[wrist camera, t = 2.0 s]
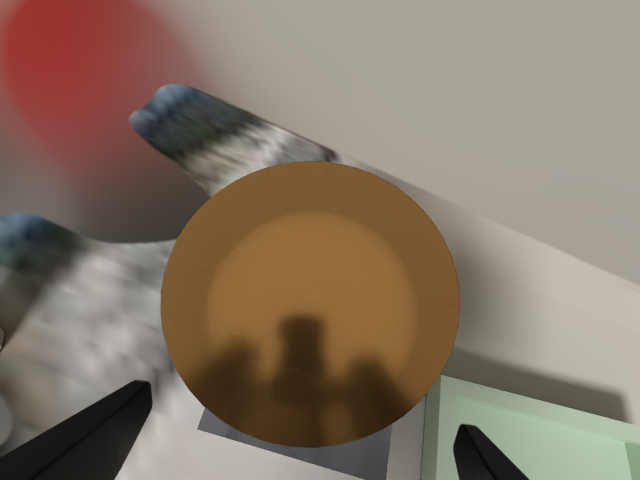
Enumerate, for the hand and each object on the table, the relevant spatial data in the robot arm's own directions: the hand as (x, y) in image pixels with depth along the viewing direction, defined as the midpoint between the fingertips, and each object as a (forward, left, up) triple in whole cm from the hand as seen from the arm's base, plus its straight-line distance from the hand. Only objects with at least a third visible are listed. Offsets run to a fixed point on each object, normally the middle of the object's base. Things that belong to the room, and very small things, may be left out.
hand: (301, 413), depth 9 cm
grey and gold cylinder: (+2, 0, -10) cm, 11 cm away
